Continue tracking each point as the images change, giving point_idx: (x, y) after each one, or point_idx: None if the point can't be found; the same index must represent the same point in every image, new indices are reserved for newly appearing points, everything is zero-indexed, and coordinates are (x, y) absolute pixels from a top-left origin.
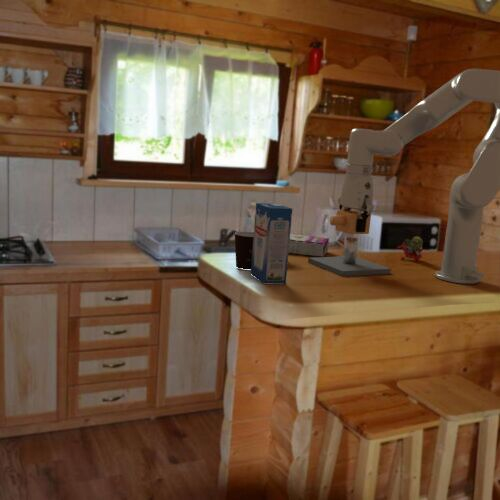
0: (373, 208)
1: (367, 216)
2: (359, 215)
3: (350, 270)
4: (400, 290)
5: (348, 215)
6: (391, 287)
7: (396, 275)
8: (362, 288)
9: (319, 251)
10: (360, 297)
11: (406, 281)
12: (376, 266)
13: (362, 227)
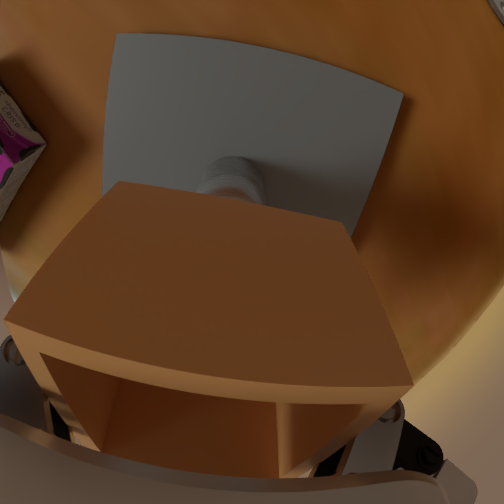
0: (473, 487)
1: (405, 430)
2: (335, 457)
3: None
4: (479, 264)
5: (248, 465)
6: (460, 262)
7: (421, 98)
8: (410, 327)
9: (28, 163)
10: (425, 362)
11: (473, 157)
12: (343, 113)
13: None
